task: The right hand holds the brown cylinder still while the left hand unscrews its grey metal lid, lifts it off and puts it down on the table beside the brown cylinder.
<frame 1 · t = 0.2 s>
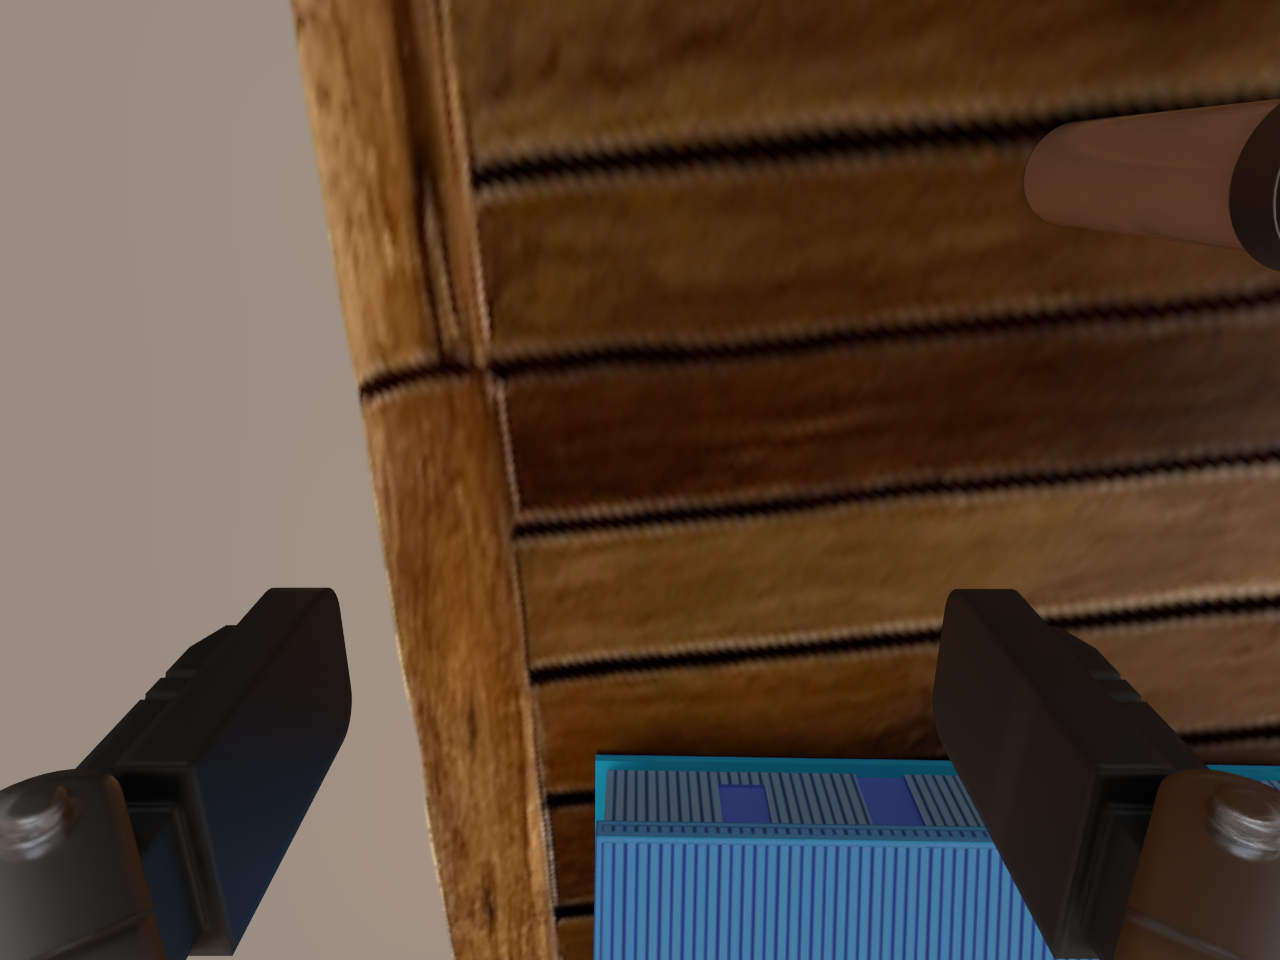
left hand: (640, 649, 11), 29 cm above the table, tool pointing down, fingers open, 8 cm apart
brown cylinder: (1073, 174, 37), on the table
model building: (915, 916, 51), on the table
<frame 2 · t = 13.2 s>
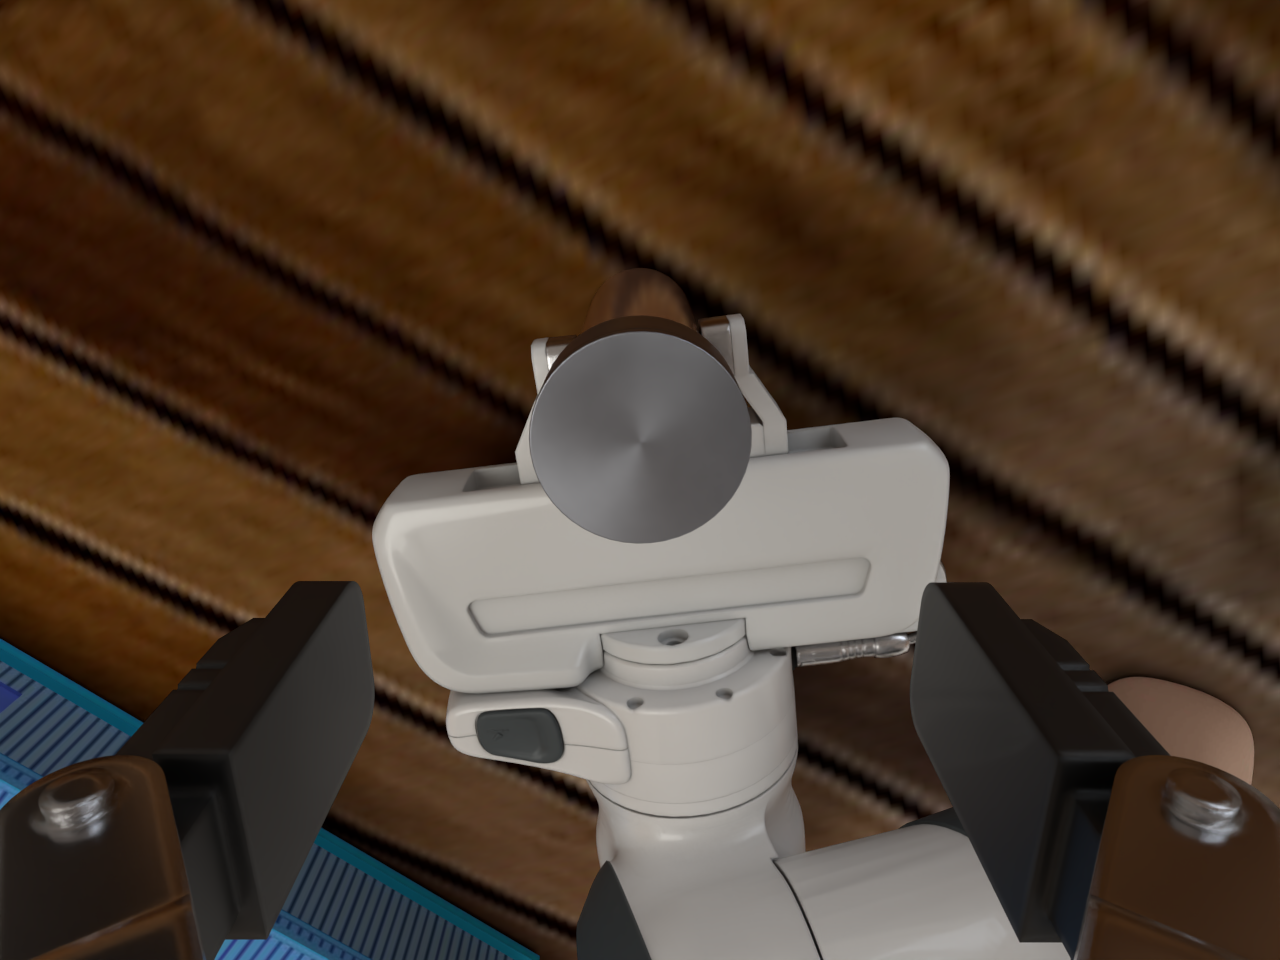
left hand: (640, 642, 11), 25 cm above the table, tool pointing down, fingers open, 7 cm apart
right hand: (635, 328, 28), fingers closed on brown cylinder, 4 cm apart
anatomical model: (1141, 785, 43), on the table
brown cylinder: (639, 321, 35), on the table, touching right hand
lid: (640, 438, 20), point 16 cm above the table, screwed on, not yet turned
model building: (130, 909, 46), on the table
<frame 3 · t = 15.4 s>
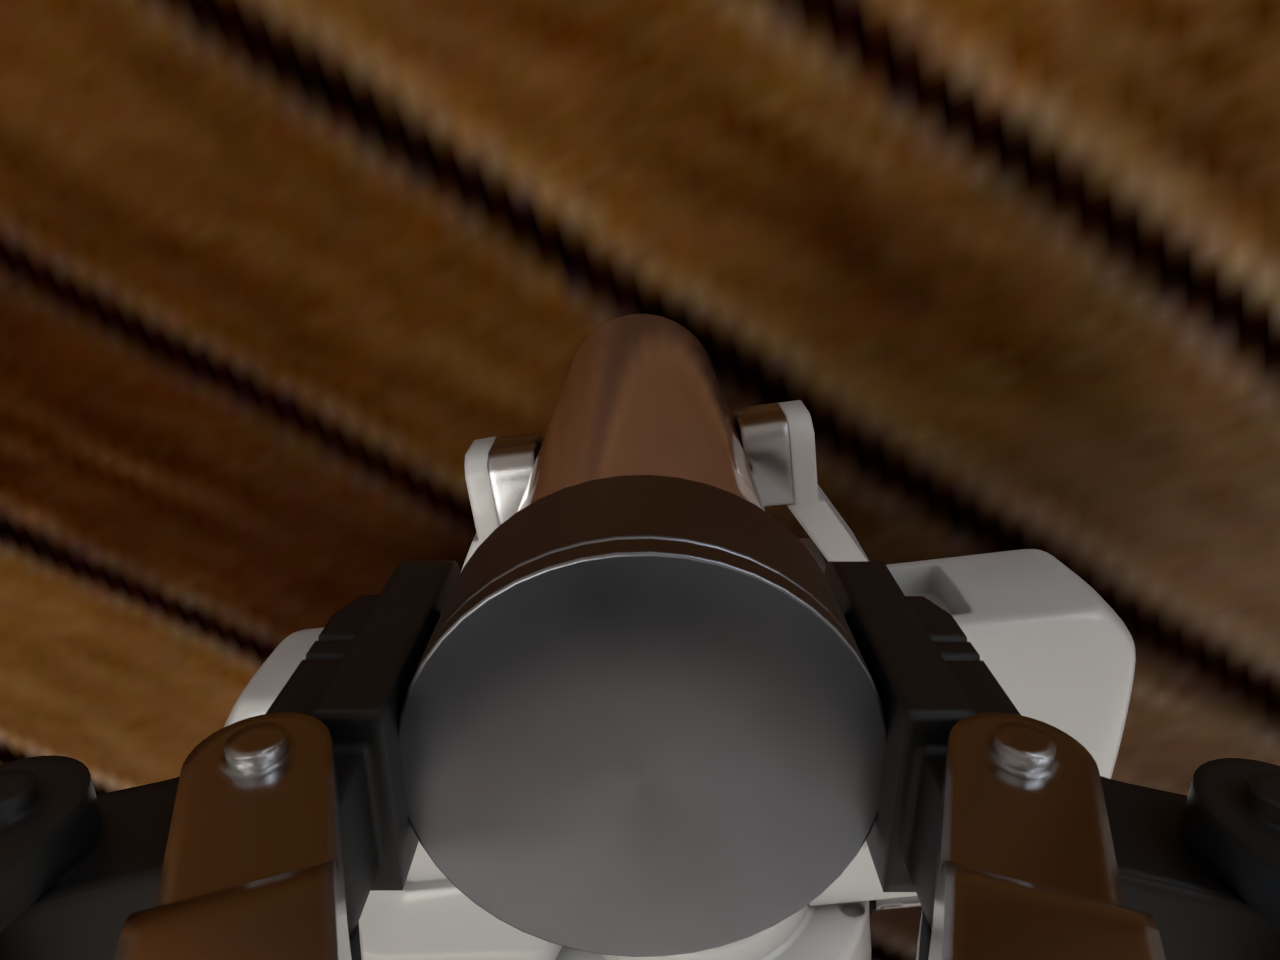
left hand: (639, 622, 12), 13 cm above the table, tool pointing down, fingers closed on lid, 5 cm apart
brown cylinder: (641, 388, 24), on the table, touching right hand
lid: (642, 754, 9), point 16 cm above the table, screwed on, not yet turned, touching left hand
when the left hand's fingers open (14 cm above the table, at t = 16.8 s): lid stays where it is, point 16 cm above the table.
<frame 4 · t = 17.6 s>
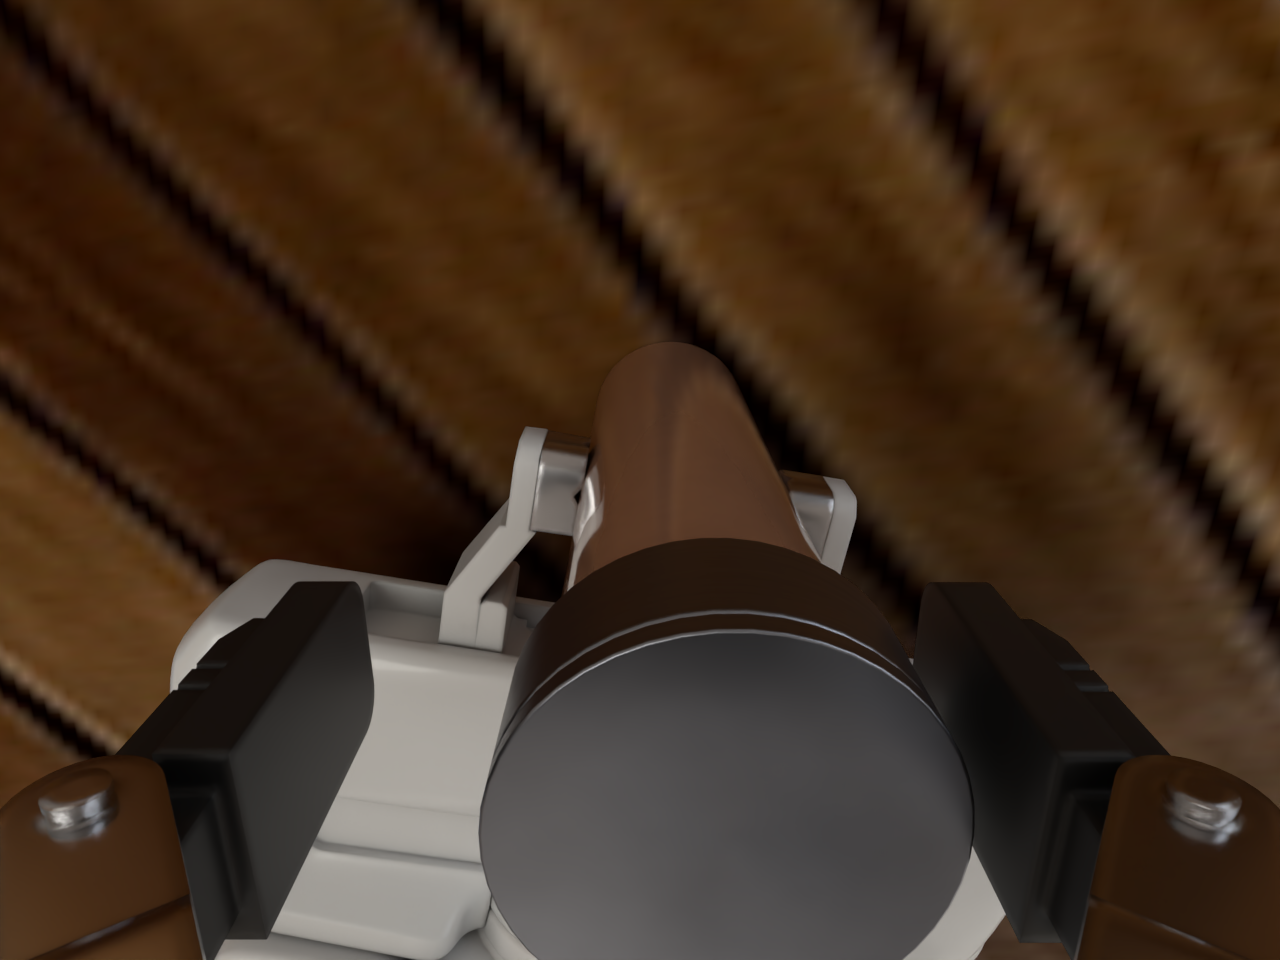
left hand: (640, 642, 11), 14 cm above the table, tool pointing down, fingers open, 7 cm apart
brown cylinder: (669, 414, 24), on the table, touching right hand
lid: (723, 823, 9), point 16 cm above the table, turned 68° so far, risen 0.2 cm, still on its thread
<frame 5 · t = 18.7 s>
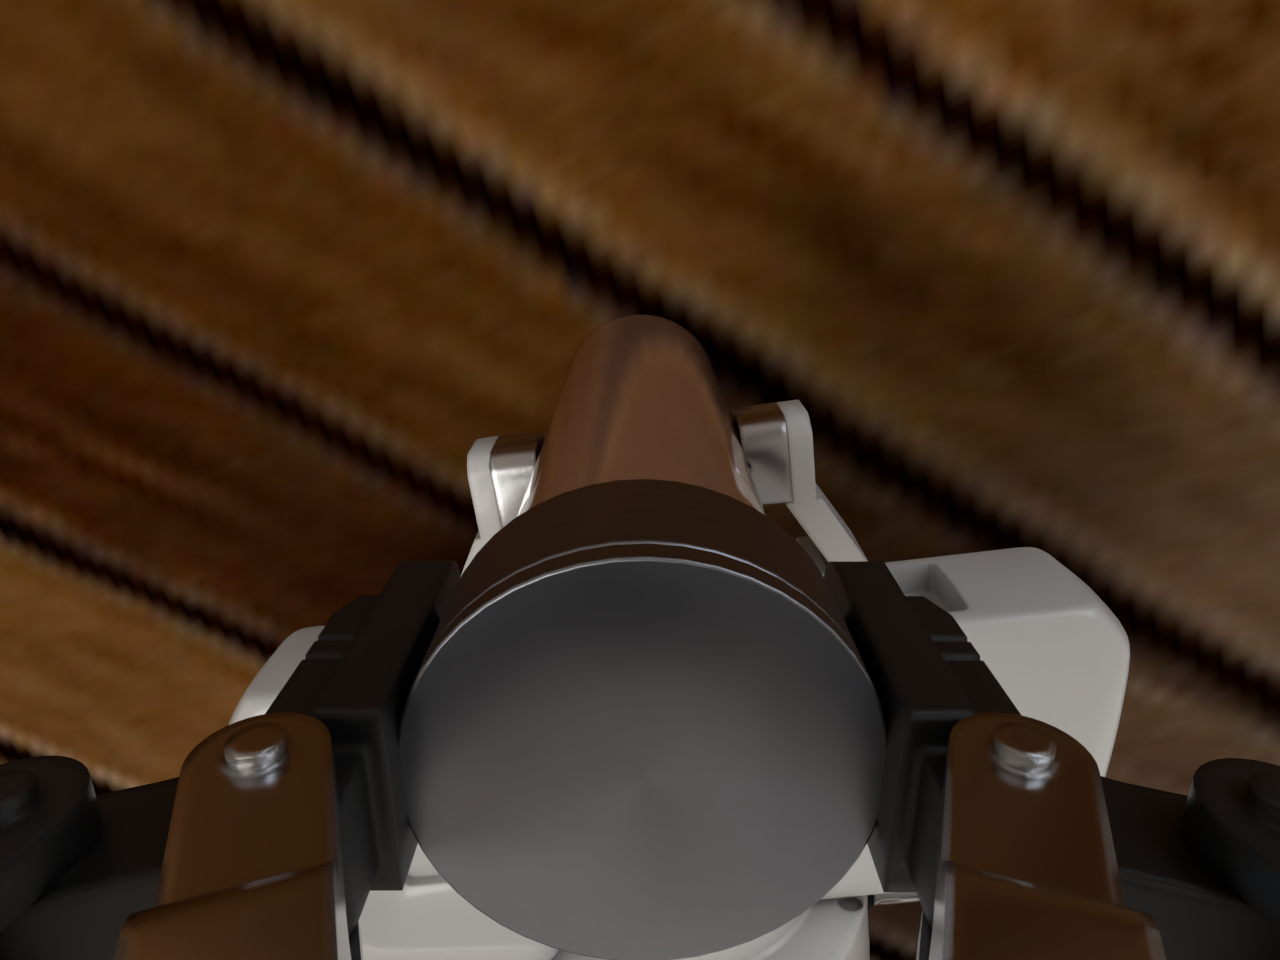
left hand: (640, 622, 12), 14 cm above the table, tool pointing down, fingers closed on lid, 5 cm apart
brown cylinder: (641, 388, 24), on the table, touching right hand
lid: (642, 759, 9), point 16 cm above the table, turned 68° so far, risen 0.2 cm, still on its thread, touching left hand
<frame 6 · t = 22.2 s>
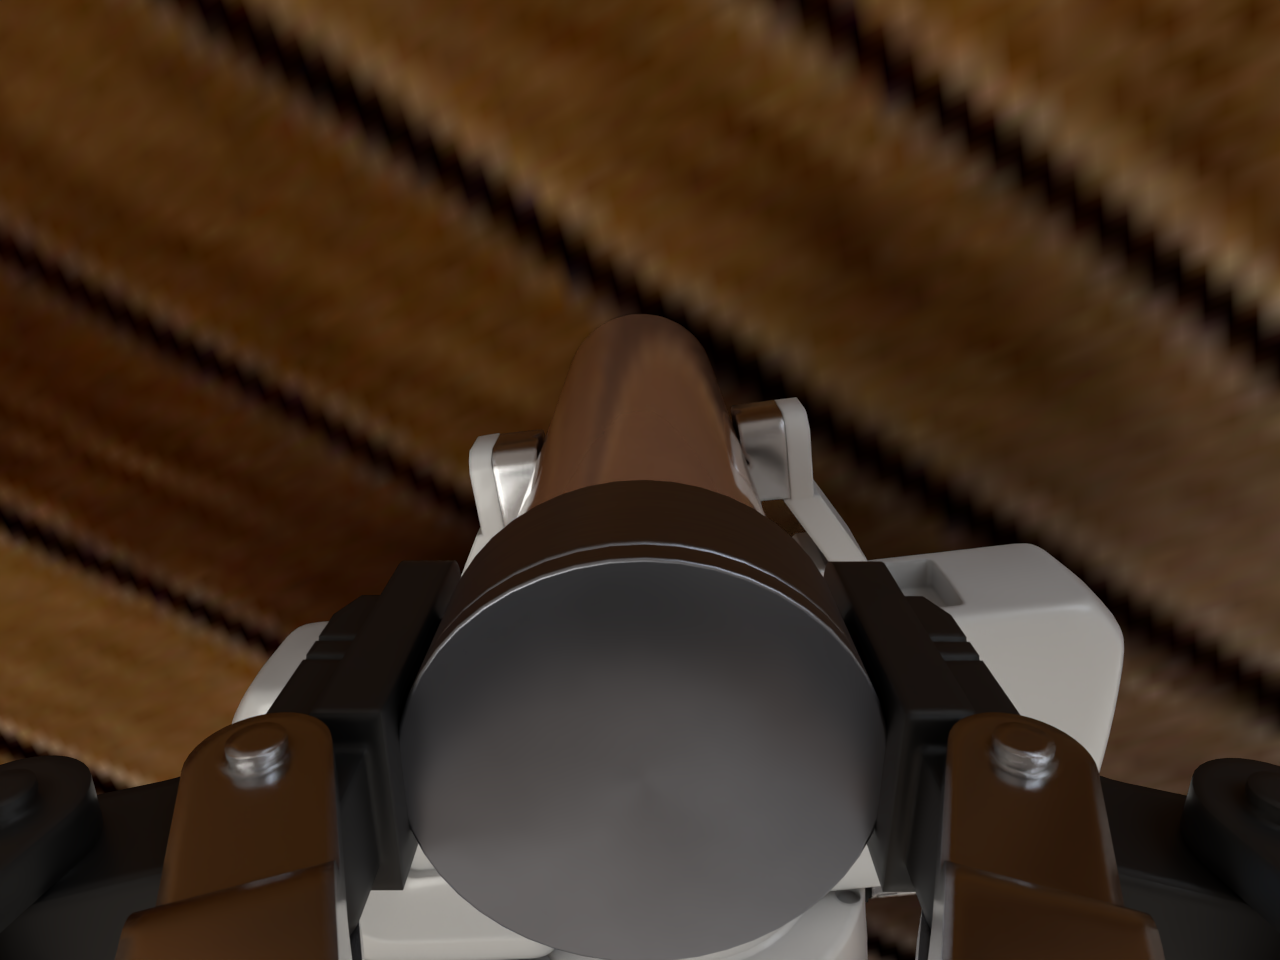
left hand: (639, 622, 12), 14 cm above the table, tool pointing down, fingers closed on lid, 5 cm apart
brown cylinder: (640, 387, 25), on the table, touching right hand
lid: (642, 759, 9), point 17 cm above the table, turned 136° so far, risen 0.4 cm, still on its thread, touching left hand
when the left hand's fingers open (0 cm above the table, at t = 29.1 s): lid drops 1 cm, point 2 cm above the table.
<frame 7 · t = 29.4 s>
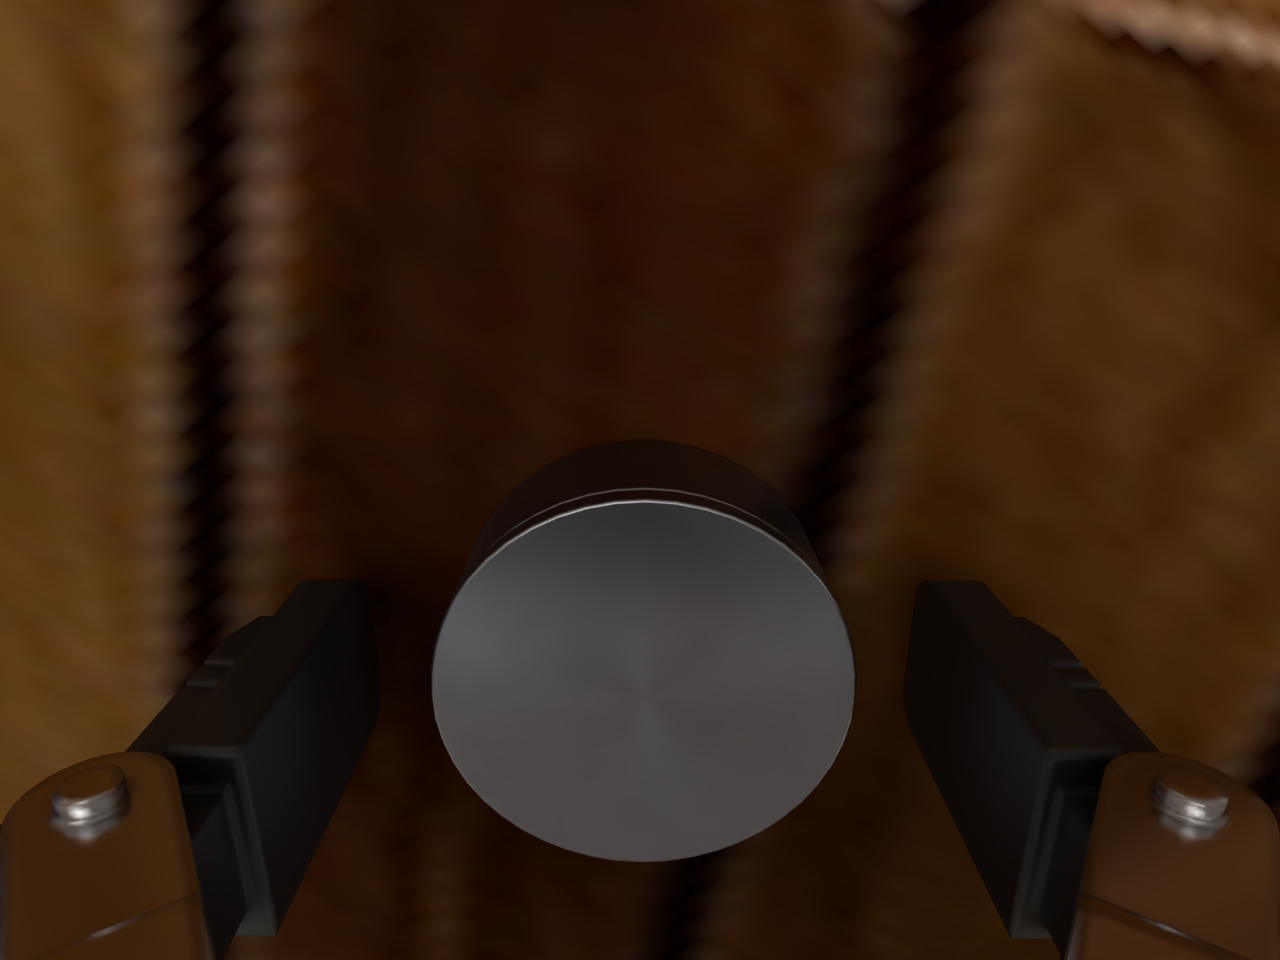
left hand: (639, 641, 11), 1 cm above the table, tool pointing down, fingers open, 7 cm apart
lid: (643, 681, 11), point 2 cm above the table, off its thread
when the right hand's fingers open (7 cm above the table, at t = 30.1 s): brown cylinder stays where it is, on the table.
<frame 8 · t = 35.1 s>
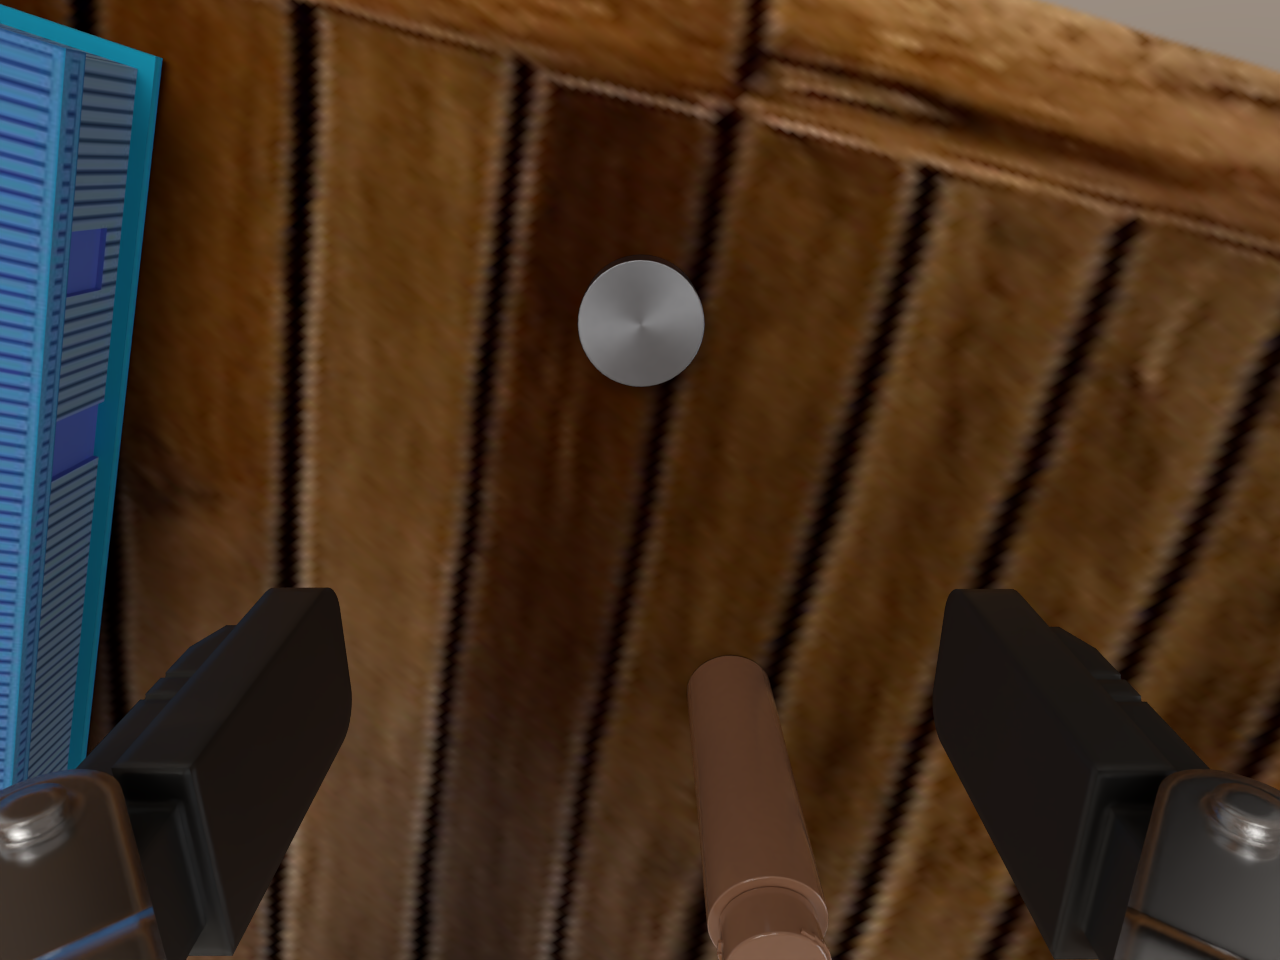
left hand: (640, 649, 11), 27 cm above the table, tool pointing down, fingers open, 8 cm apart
brown cylinder: (728, 691, 43), on the table
lid: (641, 323, 35), point 2 cm above the table, off its thread
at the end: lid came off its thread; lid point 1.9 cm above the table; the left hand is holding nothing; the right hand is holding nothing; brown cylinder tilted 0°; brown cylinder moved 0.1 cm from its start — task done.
